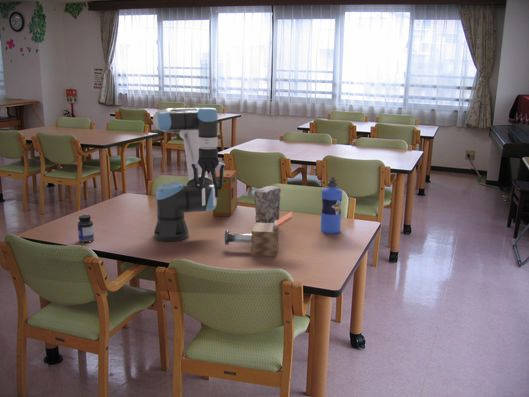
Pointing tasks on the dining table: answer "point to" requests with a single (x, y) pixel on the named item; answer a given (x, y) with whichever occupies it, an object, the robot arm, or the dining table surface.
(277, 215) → the stone block
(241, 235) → the pin
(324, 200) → the water bottle
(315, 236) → the dining table surface
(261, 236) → the block
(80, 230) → the pill bottle
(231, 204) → the box
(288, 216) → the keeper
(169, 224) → the robot arm
